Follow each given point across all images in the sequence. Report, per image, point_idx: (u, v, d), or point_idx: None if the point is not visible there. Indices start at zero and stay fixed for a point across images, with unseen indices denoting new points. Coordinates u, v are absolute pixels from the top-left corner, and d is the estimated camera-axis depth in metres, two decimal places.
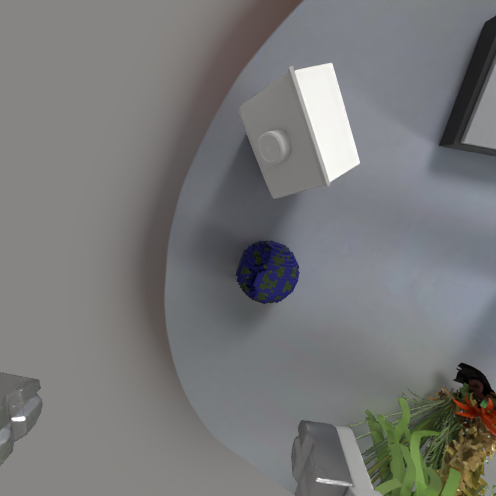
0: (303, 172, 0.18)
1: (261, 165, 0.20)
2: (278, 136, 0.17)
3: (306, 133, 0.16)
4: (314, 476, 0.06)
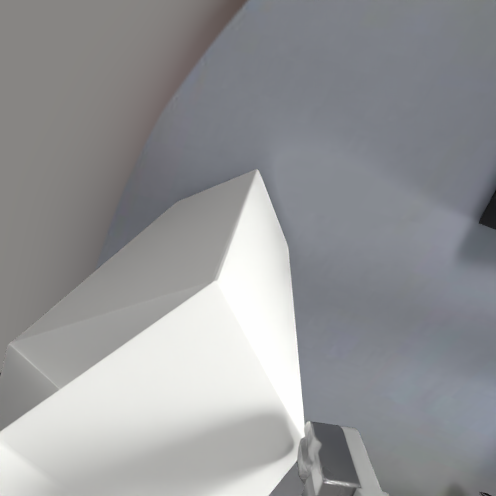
0: None
1: None
2: None
3: None
4: (321, 478, 0.06)
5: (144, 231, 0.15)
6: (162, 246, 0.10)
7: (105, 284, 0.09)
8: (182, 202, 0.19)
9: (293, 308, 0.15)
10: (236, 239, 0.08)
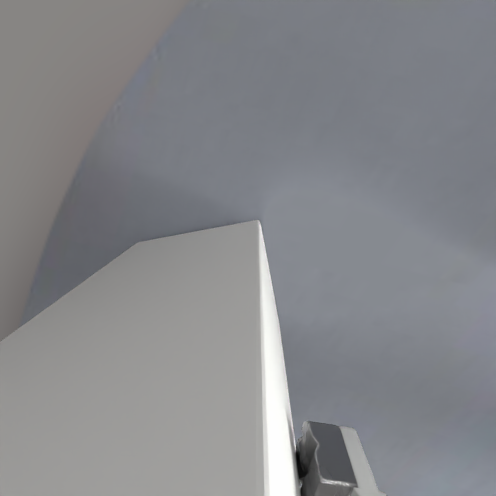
0: None
1: None
2: None
3: None
4: (318, 477, 0.06)
5: (63, 301, 0.08)
6: (63, 404, 0.04)
7: None
8: (144, 247, 0.13)
9: None
10: None
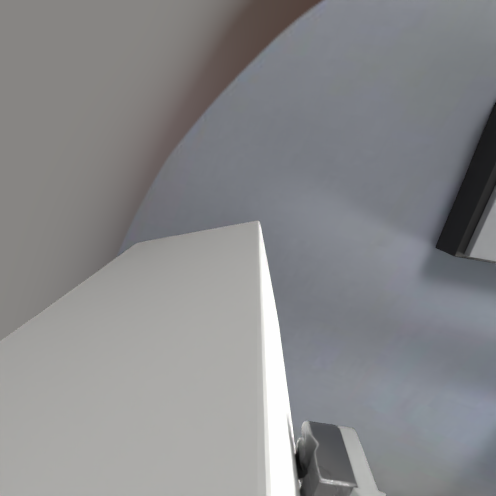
0: None
1: None
2: None
3: None
4: (318, 478, 0.06)
5: (62, 302, 0.08)
6: (62, 405, 0.04)
7: None
8: (144, 248, 0.13)
9: None
10: None
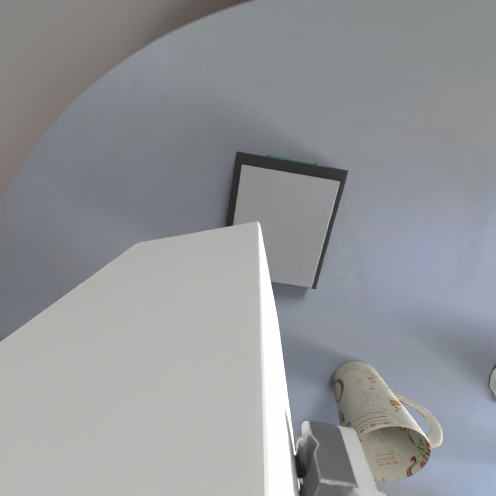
0: None
1: None
2: None
3: None
4: (318, 478, 0.06)
5: (61, 303, 0.08)
6: (61, 408, 0.04)
7: None
8: (144, 249, 0.13)
9: None
10: None
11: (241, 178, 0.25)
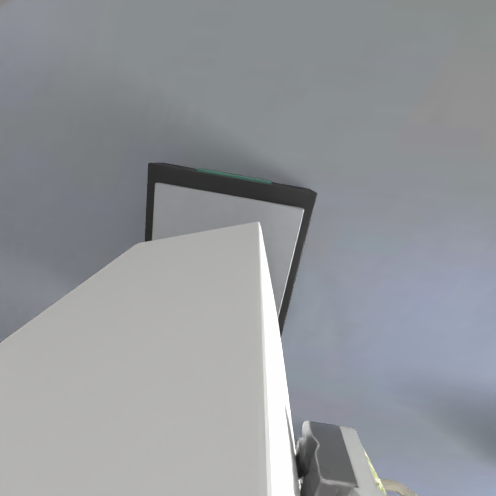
0: None
1: None
2: None
3: None
4: (319, 478, 0.06)
5: (62, 303, 0.08)
6: (62, 409, 0.04)
7: None
8: (144, 249, 0.13)
9: None
10: None
11: (156, 204, 0.17)
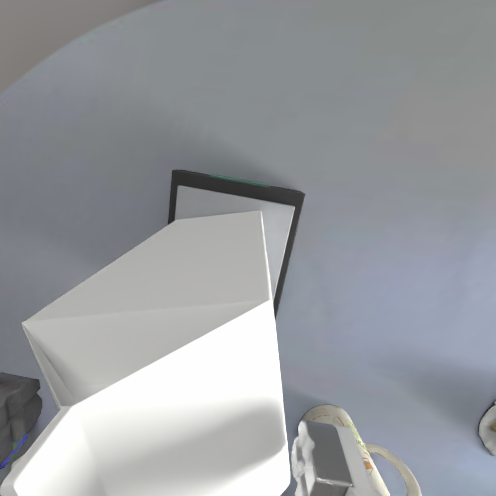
0: None
1: None
2: None
3: None
4: (314, 477, 0.06)
5: (150, 240, 0.15)
6: (185, 259, 0.11)
7: (130, 282, 0.09)
8: (184, 222, 0.20)
9: None
10: (268, 268, 0.09)
11: (178, 202, 0.21)
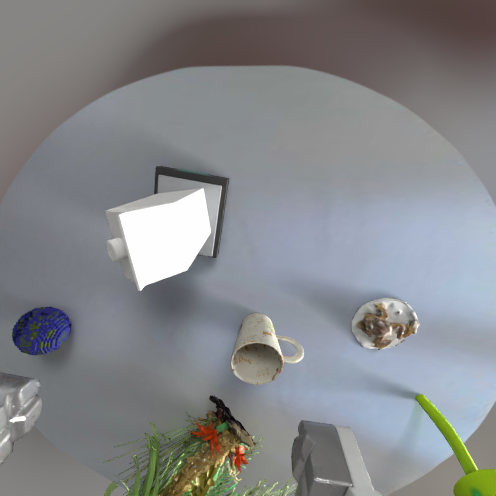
0: None
1: None
2: (114, 248, 0.24)
3: None
4: (314, 477, 0.06)
5: (143, 198, 0.33)
6: (155, 200, 0.29)
7: (135, 204, 0.27)
8: (161, 193, 0.38)
9: (200, 247, 0.34)
10: (181, 200, 0.28)
11: (159, 183, 0.39)
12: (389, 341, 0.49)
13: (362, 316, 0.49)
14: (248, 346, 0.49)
